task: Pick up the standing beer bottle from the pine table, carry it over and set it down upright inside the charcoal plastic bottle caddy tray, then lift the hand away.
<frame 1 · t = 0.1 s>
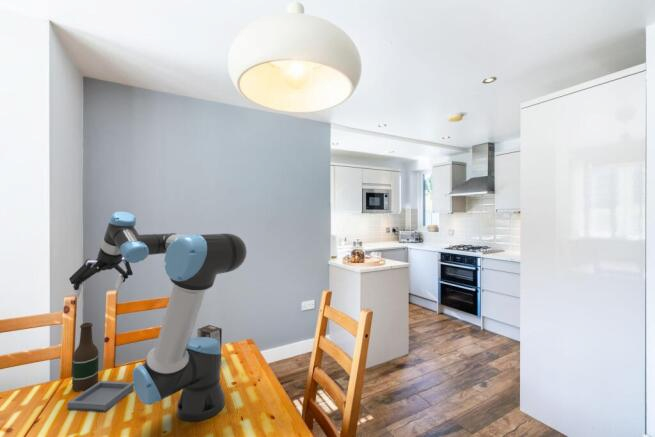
hand: (97, 291, 118), 36 cm above the table, tool tilted 35°, fingers open, 13 cm apart
caddy tray: (102, 399, 107), on the table
beer bottle: (85, 386, 115), on the table
coffee box: (209, 365, 133), on the table
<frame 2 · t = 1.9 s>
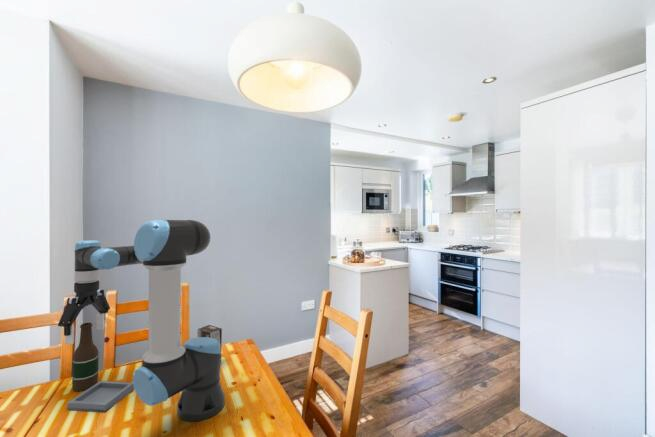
hand: (85, 336, 115), 19 cm above the table, tool pointing down, fingers open, 13 cm apart
nothing on the table moved.
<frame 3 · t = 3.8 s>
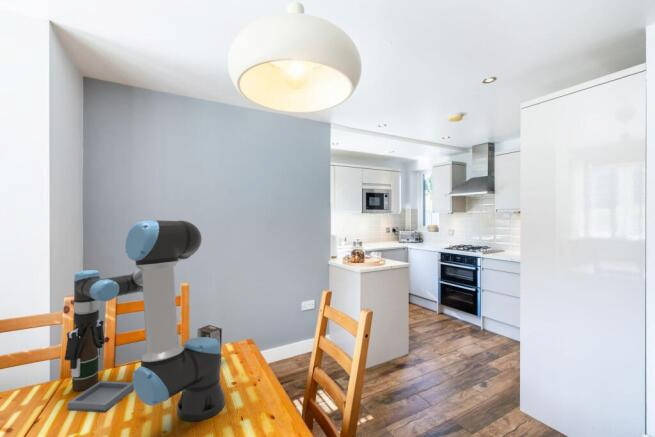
hand: (85, 370, 115), 6 cm above the table, tool pointing down, fingers closed on beer bottle, 8 cm apart
beer bottle: (85, 386, 115), on the table, touching gripper
everything else where it was.
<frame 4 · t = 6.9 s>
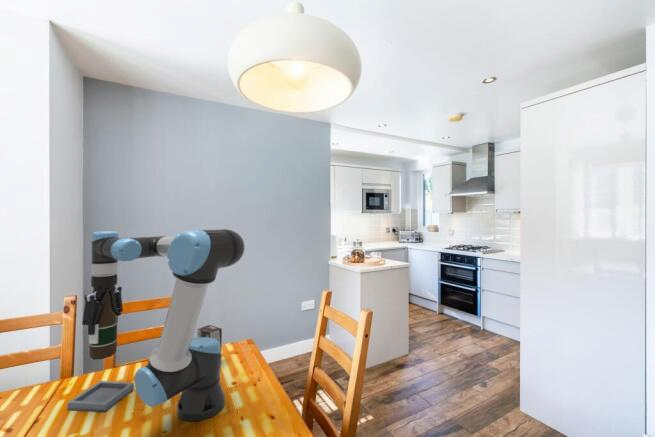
hand: (103, 338, 107), 22 cm above the table, tool pointing down, fingers closed on beer bottle, 8 cm apart
beer bottle: (103, 355, 107), point 16 cm above the table, touching gripper
everything else where it was.
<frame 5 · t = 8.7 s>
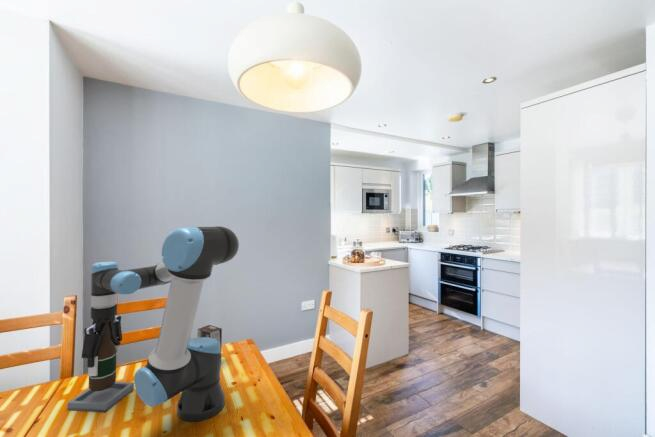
hand: (102, 369, 107), 11 cm above the table, tool pointing down, fingers closed on beer bottle, 8 cm apart
beer bottle: (102, 386, 107), point 5 cm above the table, touching gripper
everything else where it was.
when the fingers open (9 cm above the table, at t = 10.0 s): beer bottle drops 2 cm, resting on caddy tray.
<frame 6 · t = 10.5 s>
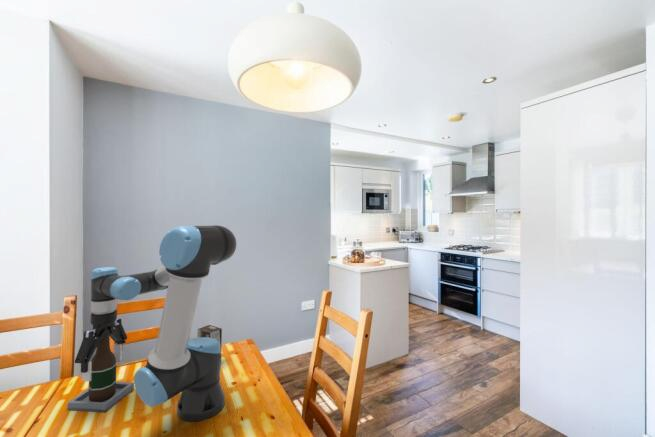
hand: (103, 370, 107), 10 cm above the table, tool pointing down, fingers open, 13 cm apart
beer bottle: (102, 397, 107), point 1 cm above the table, touching caddy tray
everything else where it was.
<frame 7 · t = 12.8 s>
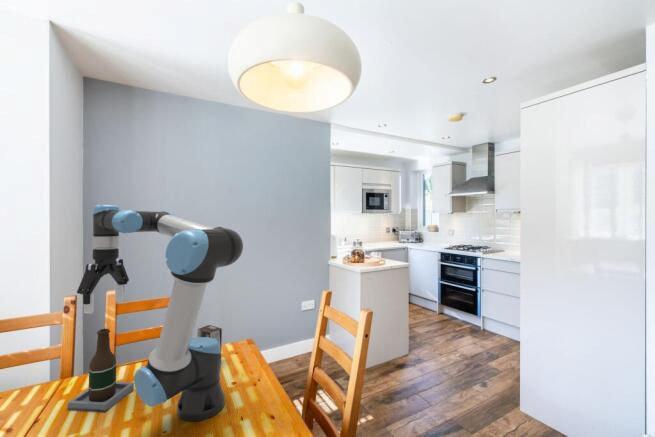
hand: (105, 307, 107), 33 cm above the table, tool pointing down, fingers open, 13 cm apart
nothing on the table moved.
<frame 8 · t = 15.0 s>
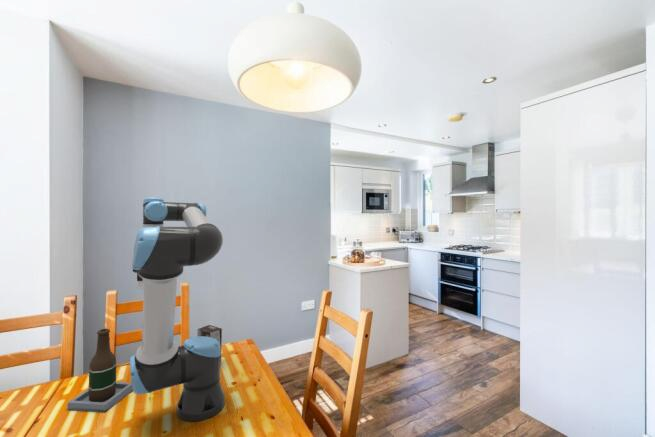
hand: (152, 285, 126), 37 cm above the table, tool pointing down, fingers open, 13 cm apart
nothing on the table moved.
at the end: beer bottle 0.1 cm off-centre on the caddy tray, point 0.6 cm above the caddy tray's base; beer bottle tilted 0°; the gripper is holding nothing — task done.
